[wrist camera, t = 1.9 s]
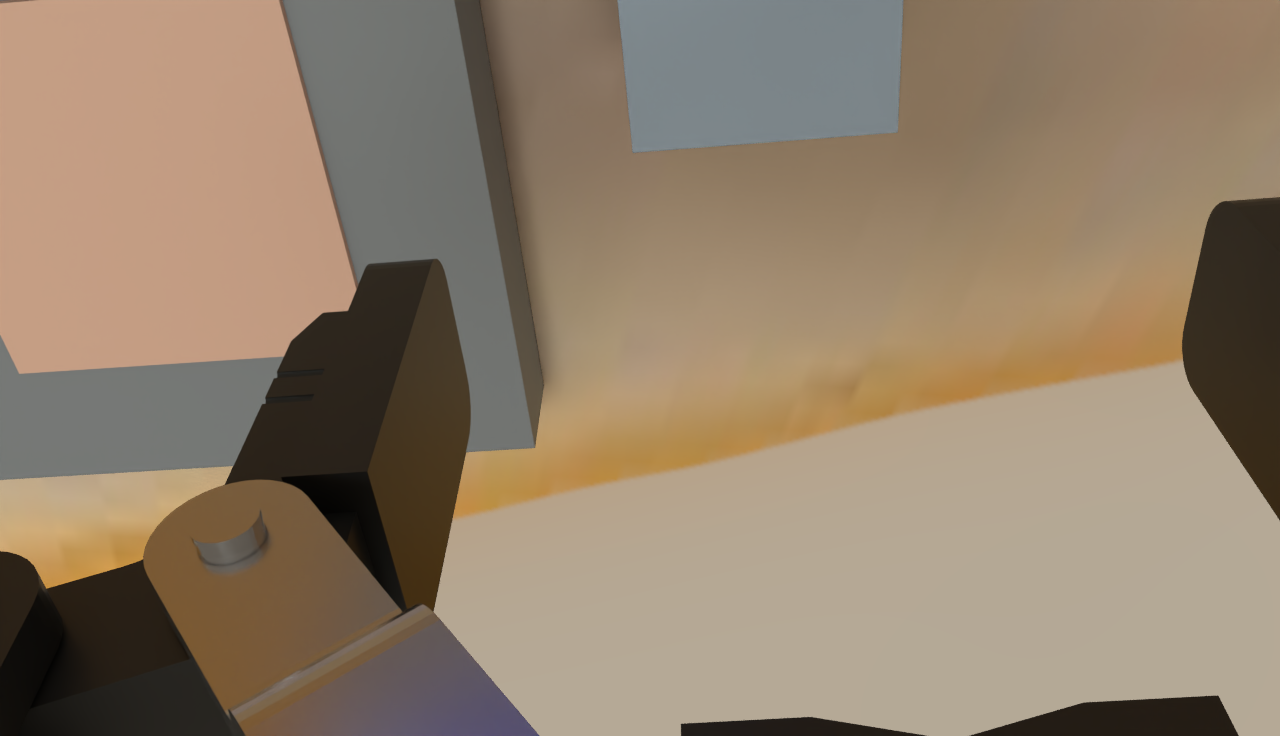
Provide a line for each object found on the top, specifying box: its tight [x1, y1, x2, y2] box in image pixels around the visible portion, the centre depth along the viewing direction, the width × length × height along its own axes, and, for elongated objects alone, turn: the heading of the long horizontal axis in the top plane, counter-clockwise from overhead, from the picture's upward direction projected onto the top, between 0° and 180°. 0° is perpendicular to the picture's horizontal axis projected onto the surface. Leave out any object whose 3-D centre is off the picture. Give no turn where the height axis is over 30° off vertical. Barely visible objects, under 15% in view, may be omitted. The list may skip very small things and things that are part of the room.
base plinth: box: [0, 0, 544, 480], centre depth 27 cm, size 16×16×3 cm
